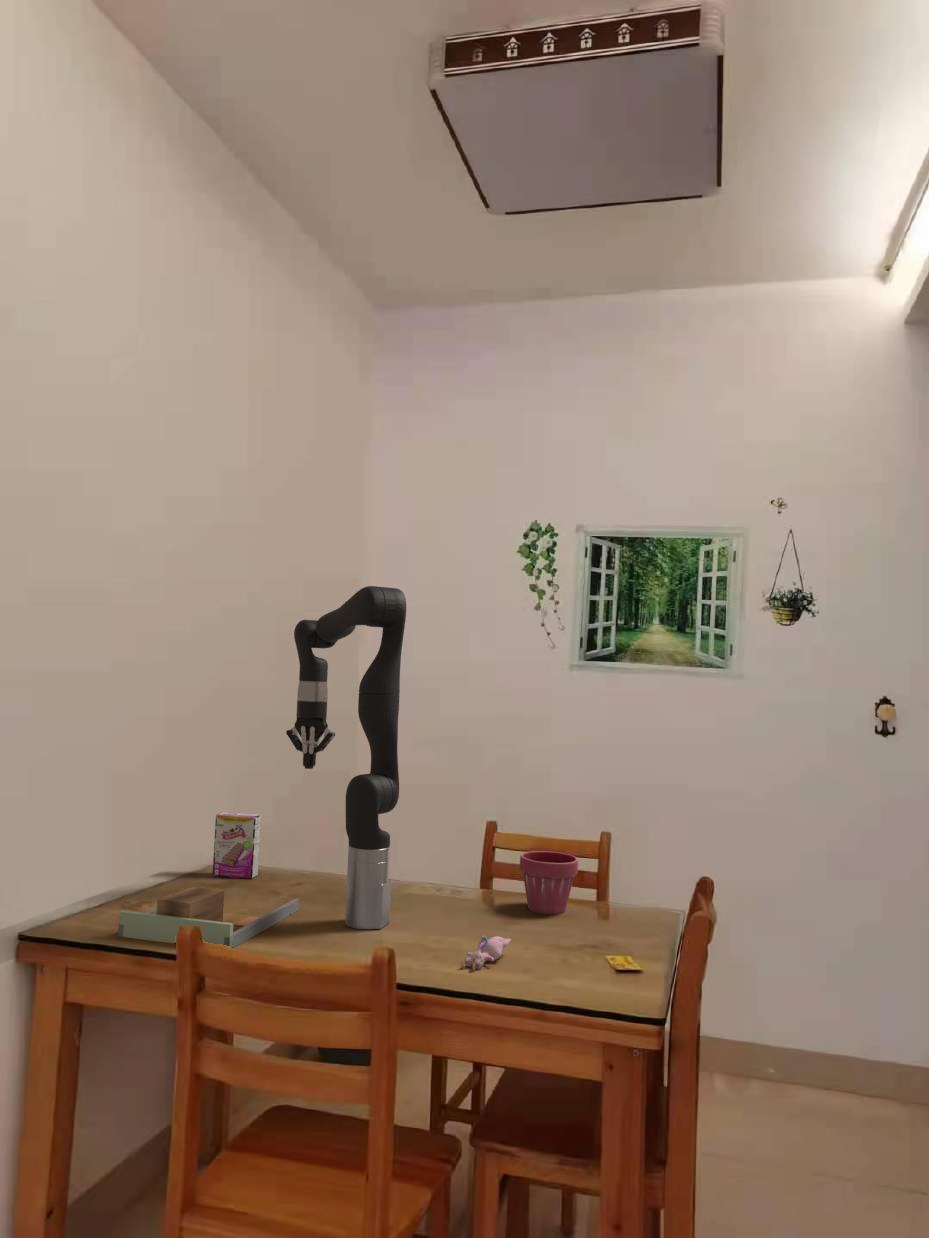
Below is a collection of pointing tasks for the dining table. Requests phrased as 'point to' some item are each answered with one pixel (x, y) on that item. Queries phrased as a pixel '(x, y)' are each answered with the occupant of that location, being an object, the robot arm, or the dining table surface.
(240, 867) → the candy bar box
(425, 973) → the dining table surface
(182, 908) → the walnut block
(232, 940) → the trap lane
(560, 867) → the plant pot
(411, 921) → the dining table surface
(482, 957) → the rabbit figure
